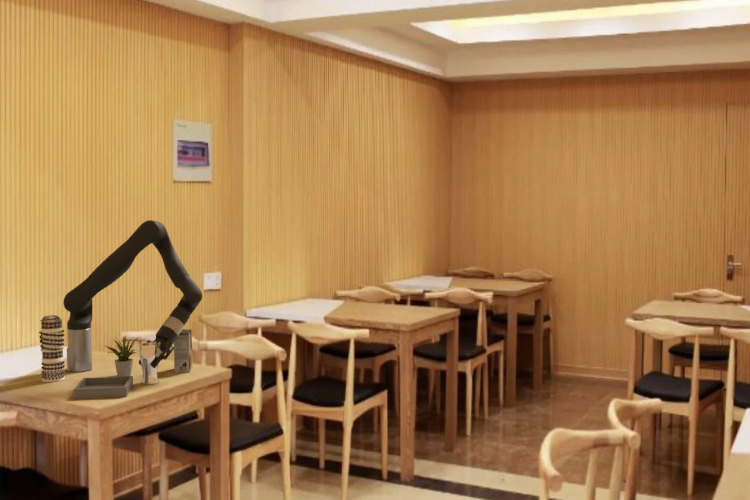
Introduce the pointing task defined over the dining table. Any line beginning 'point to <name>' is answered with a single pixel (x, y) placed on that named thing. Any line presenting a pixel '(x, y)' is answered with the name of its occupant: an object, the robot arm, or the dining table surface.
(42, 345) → the decorative candle
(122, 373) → the house plant
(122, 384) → the serving tray
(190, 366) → the coffee box
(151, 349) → the beer glass
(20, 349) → the dining table surface
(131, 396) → the dining table surface
